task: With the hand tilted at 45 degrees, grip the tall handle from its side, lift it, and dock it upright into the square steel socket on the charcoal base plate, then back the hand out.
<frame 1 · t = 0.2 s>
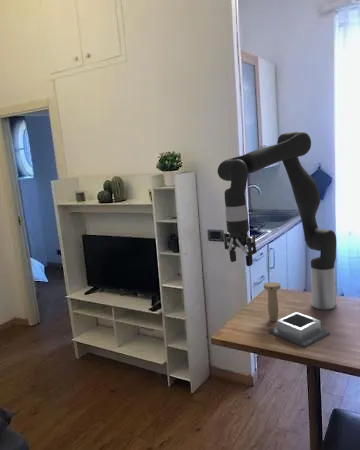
hand: (241, 263, 136), 29 cm above the table, tool pointing down, fingers open, 8 cm apart
handle: (273, 320, 155), on the table
socket: (298, 333, 143), on the table
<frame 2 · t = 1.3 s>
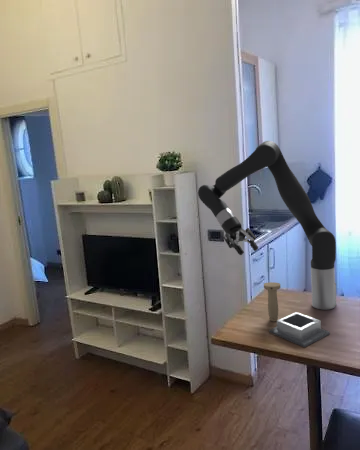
hand: (249, 251, 159), 27 cm above the table, tool tilted 45°, fingers open, 8 cm apart
nothing on the table moved.
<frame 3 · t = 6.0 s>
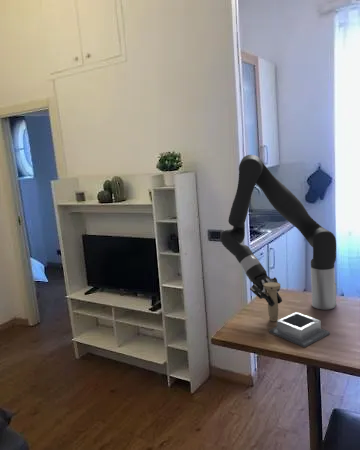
hand: (276, 303, 152), 8 cm above the table, tool tilted 45°, fingers closed on handle, 3 cm apart
handle: (273, 320, 155), on the table, touching gripper
when the fingers open (10 cm above the table, at t = 11.1 s): handle drops 1 cm, resting on socket.
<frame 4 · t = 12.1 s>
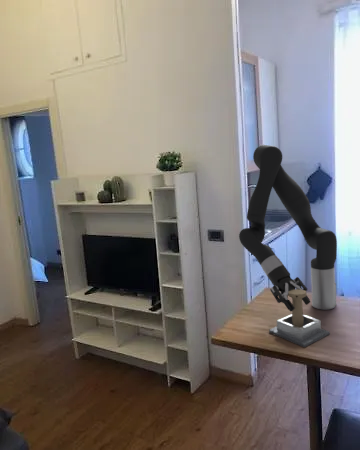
hand: (300, 306, 140), 11 cm above the table, tool tilted 45°, fingers open, 8 cm apart
handle: (298, 331, 143), point 1 cm above the table, touching socket
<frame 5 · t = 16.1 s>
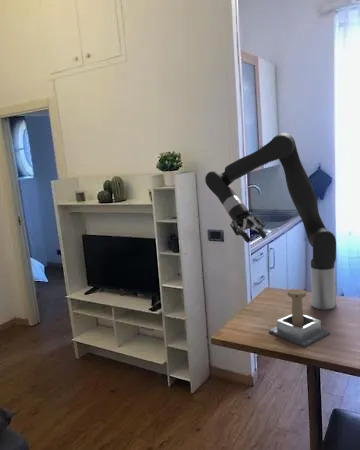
hand: (257, 239, 154), 33 cm above the table, tool tilted 45°, fingers open, 8 cm apart
nothing on the table moved.
at the end: handle 0.2 cm off-centre on the socket, point 0.8 cm above the socket's base; handle tilted 0°; the gripper is holding nothing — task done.
